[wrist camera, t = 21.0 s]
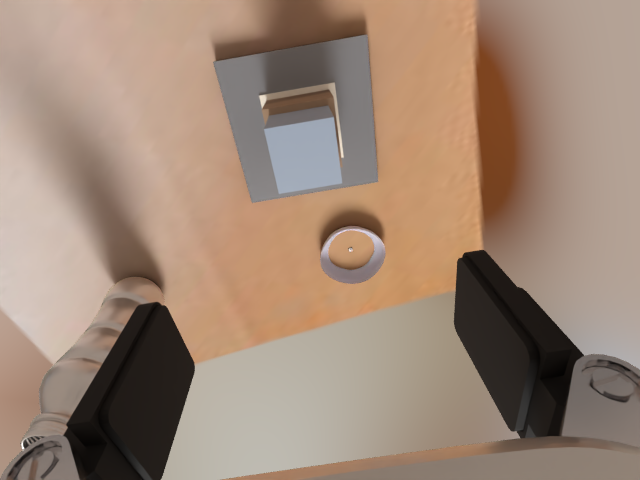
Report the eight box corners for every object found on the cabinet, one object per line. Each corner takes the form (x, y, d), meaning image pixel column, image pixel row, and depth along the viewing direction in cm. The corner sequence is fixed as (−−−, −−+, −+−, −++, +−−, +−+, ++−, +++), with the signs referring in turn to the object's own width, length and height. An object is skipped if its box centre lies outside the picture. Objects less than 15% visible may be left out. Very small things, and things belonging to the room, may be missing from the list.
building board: (215, 61, 32) (212, 61, 31) (365, 34, 32) (367, 34, 31) (253, 198, 39) (251, 203, 38) (375, 178, 39) (378, 182, 38)
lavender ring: (309, 235, 43) (309, 243, 41) (370, 211, 41) (373, 218, 40) (332, 283, 46) (334, 292, 45) (390, 262, 45) (393, 270, 44)
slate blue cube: (268, 115, 29) (264, 129, 25) (328, 105, 29) (333, 117, 25) (281, 172, 32) (278, 194, 27) (336, 163, 31) (342, 183, 27)
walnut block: (266, 100, 33) (261, 109, 29) (328, 89, 33) (333, 97, 29) (279, 161, 36) (277, 178, 32) (337, 151, 36) (342, 167, 32)
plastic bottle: (136, 316, 47) (41, 478, 30) (104, 278, 44) (-23, 435, 26) (179, 302, 46) (108, 460, 29) (150, 262, 43) (50, 414, 26)
